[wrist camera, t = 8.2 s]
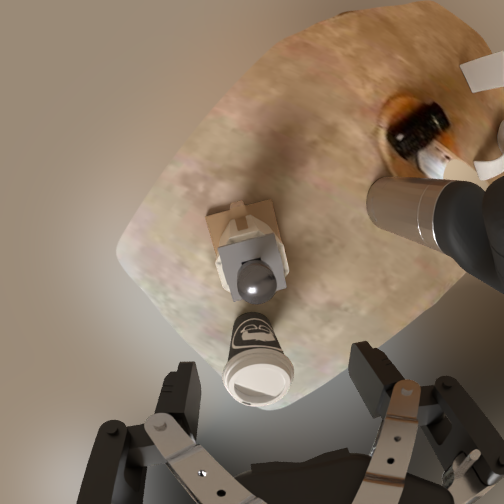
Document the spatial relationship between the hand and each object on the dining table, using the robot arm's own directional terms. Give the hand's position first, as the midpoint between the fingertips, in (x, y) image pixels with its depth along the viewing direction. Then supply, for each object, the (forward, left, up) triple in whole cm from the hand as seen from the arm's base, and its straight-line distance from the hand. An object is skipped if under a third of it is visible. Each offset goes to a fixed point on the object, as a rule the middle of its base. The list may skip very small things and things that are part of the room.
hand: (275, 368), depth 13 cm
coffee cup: (+3, +15, -30) cm, 34 cm away
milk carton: (-60, -25, -30) cm, 72 cm away
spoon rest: (-63, -7, -31) cm, 70 cm away
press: (0, 0, -30) cm, 30 cm away
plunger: (0, 0, -24) cm, 24 cm away
